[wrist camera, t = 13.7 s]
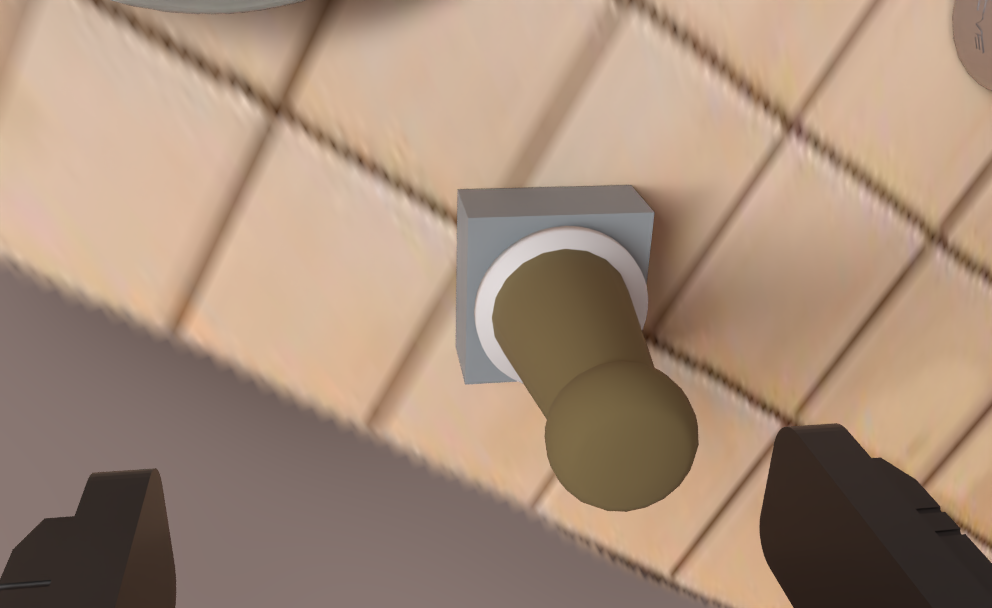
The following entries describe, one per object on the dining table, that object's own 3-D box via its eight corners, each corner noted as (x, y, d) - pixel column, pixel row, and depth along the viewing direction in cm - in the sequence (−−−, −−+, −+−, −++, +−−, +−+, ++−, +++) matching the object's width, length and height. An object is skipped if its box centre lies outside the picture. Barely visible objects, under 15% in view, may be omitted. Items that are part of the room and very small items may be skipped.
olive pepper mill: (473, 277, 39) (522, 425, 29) (612, 228, 39) (706, 361, 30) (514, 393, 42) (571, 563, 32) (643, 348, 42) (739, 504, 32)
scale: (631, 185, 44) (663, 222, 39) (615, 346, 47) (643, 396, 43) (457, 189, 42) (471, 229, 38) (455, 354, 46) (468, 407, 42)
